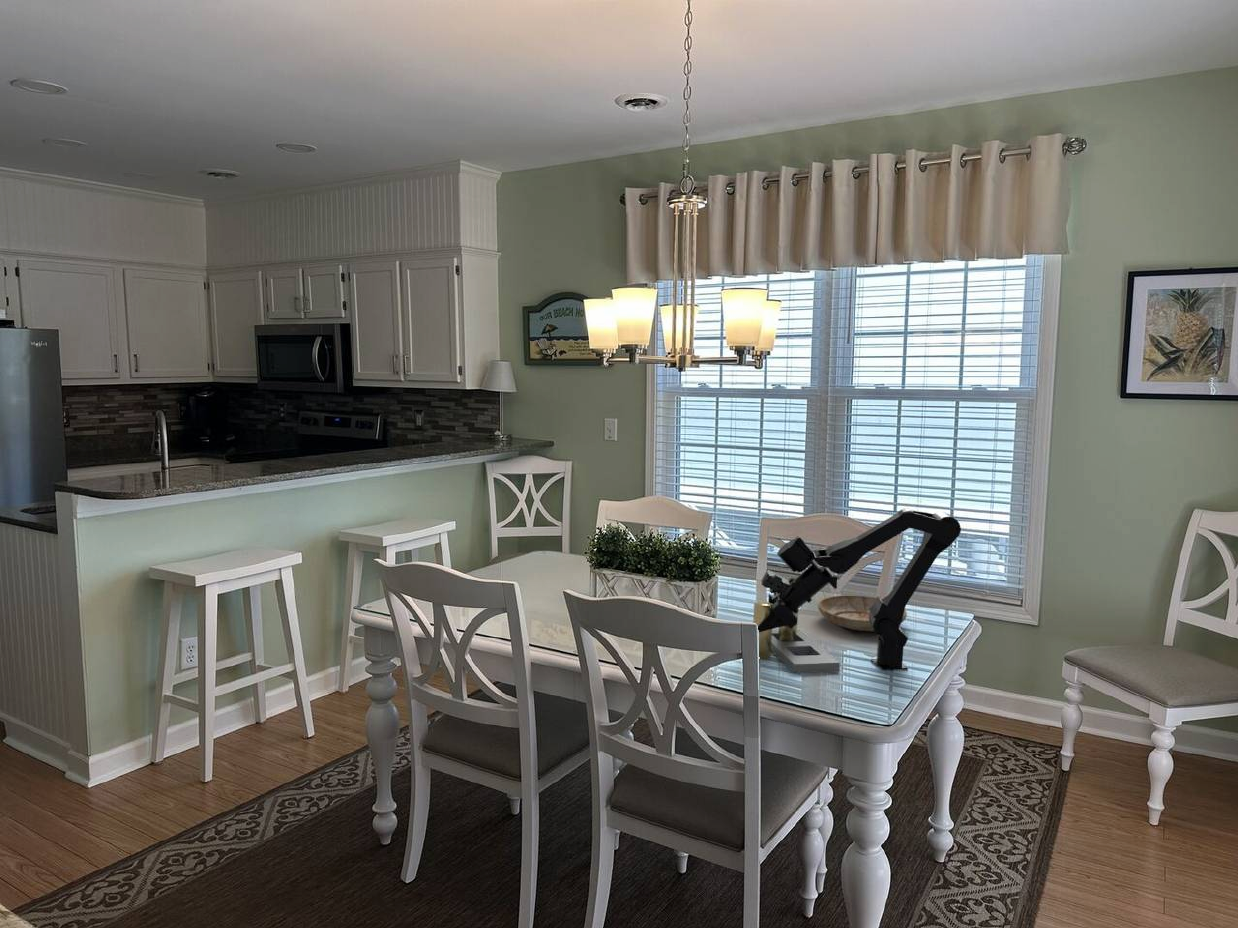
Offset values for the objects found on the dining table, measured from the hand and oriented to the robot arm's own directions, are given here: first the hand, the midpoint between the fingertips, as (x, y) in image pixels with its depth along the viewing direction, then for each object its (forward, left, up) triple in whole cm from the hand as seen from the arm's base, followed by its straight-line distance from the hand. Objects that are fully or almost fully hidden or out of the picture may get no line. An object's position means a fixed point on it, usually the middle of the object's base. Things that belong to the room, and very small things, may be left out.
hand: (756, 627), depth 205 cm
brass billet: (0, -1, -7) cm, 7 cm away
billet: (+7, -11, -7) cm, 15 cm away
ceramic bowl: (+22, -38, -7) cm, 44 cm away
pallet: (+1, -11, -7) cm, 13 cm away
